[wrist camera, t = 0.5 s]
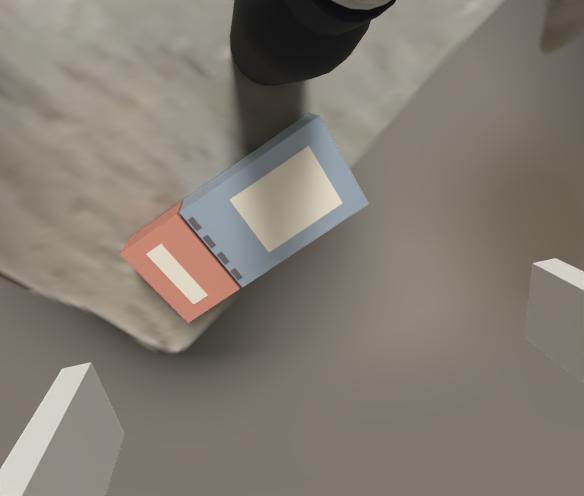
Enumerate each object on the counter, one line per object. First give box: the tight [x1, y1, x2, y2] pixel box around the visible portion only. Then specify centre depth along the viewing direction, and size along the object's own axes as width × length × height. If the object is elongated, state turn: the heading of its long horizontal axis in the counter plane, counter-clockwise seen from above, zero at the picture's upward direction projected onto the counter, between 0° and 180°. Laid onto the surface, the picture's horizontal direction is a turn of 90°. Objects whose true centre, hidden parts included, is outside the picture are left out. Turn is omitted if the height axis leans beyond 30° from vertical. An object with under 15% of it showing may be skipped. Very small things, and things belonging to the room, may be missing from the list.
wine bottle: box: [230, 0, 396, 85], centre depth 17 cm, size 6×6×30 cm
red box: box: [120, 202, 240, 323], centre depth 34 cm, size 9×6×4 cm, turn 33°
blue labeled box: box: [179, 113, 369, 288], centre depth 34 cm, size 9×14×4 cm, turn 123°
